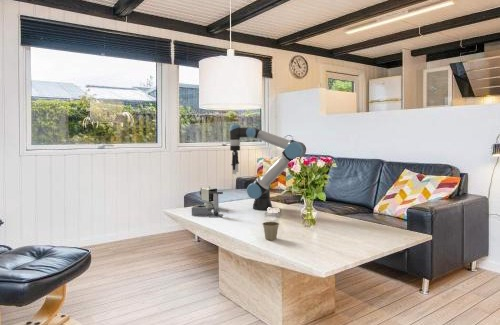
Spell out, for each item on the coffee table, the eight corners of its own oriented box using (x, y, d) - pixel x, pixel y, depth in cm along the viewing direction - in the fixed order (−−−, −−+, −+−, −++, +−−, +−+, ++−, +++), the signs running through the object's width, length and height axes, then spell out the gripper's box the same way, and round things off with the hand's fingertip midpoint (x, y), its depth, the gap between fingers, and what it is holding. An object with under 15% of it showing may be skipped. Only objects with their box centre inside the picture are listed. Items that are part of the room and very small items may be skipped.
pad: (223, 214, 266) (223, 213, 266) (221, 217, 257) (221, 216, 257) (211, 214, 266) (211, 213, 266) (208, 217, 257) (208, 216, 257)
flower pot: (282, 238, 203) (282, 223, 203) (272, 242, 196) (272, 226, 196) (269, 235, 210) (269, 220, 209) (259, 239, 203) (258, 223, 202)
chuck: (211, 212, 275) (211, 204, 274) (208, 215, 263) (207, 208, 262) (195, 211, 276) (195, 204, 275) (191, 215, 264) (191, 208, 263)
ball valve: (220, 209, 285) (220, 186, 284) (211, 210, 280) (210, 187, 279) (208, 205, 299) (208, 184, 298) (199, 206, 294) (199, 185, 293)
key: (209, 214, 264) (209, 191, 262) (223, 214, 263) (223, 191, 262) (208, 215, 260) (208, 192, 259) (222, 215, 259) (222, 192, 258)
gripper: (232, 144, 289) (232, 171, 290) (227, 145, 264) (228, 175, 266) (241, 144, 288) (242, 171, 290) (238, 145, 263) (238, 175, 265)
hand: (235, 173), depth 278 cm, fingers open, 13 cm apart
